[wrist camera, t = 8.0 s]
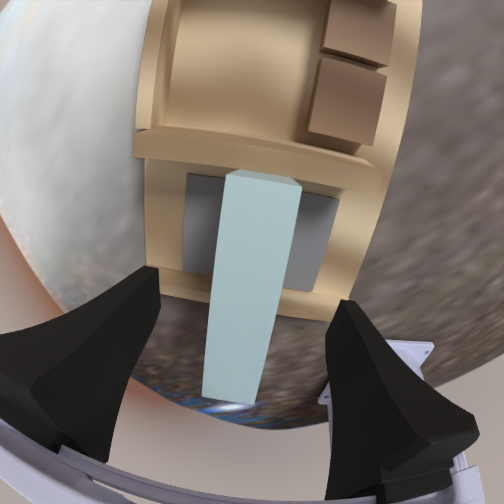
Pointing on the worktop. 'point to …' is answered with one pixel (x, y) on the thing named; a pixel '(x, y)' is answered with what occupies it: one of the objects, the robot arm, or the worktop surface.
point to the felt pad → (208, 218)
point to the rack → (259, 128)
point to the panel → (247, 280)
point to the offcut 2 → (345, 101)
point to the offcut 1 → (359, 30)
